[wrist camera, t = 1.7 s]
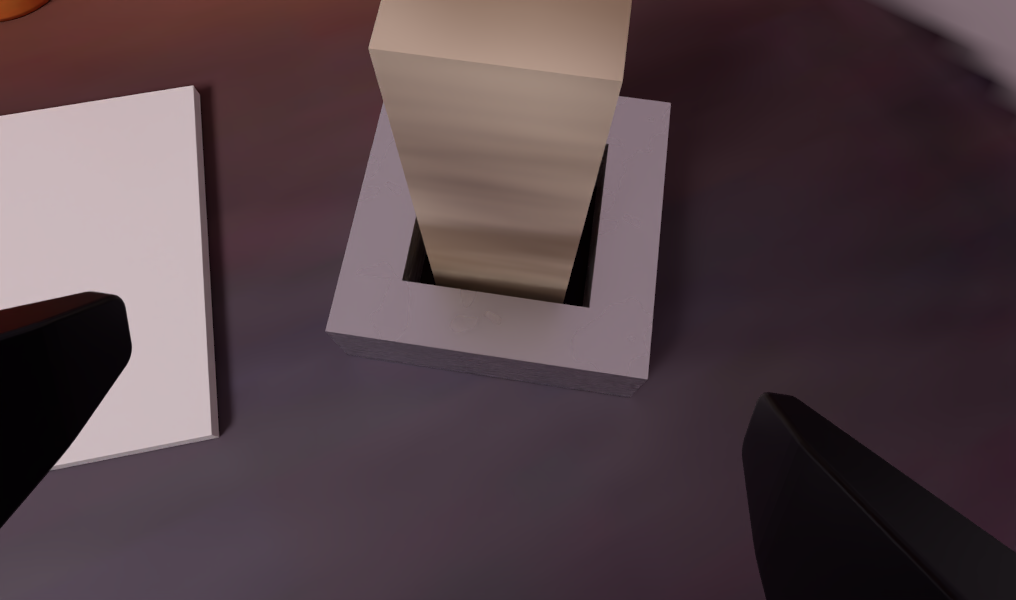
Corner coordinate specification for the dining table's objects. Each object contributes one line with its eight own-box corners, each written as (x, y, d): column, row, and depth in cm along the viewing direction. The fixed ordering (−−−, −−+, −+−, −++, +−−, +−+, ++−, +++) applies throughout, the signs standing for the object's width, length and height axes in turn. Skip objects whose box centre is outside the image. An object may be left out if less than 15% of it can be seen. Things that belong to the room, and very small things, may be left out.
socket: (629, 397, 23) (647, 379, 20) (347, 354, 23) (325, 331, 20) (652, 149, 26) (670, 103, 23) (404, 115, 26) (392, 66, 23)
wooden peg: (560, 311, 24) (622, 81, 11) (438, 293, 24) (368, 48, 11) (575, 201, 25) (644, -109, 13) (460, 185, 25) (418, -136, 13)
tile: (219, 437, 22) (211, 434, 21) (-90, 497, 21) (-106, 497, 21) (199, 94, 26) (193, 85, 26) (-57, 135, 26) (-69, 126, 25)
